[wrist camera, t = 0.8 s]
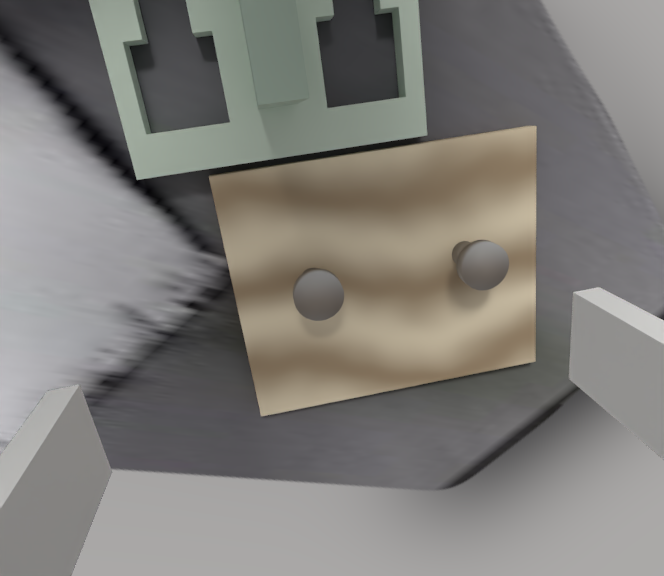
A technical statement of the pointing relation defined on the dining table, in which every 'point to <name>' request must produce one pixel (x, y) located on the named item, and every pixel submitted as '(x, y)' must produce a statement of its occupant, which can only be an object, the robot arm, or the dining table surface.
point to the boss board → (383, 266)
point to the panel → (240, 98)
